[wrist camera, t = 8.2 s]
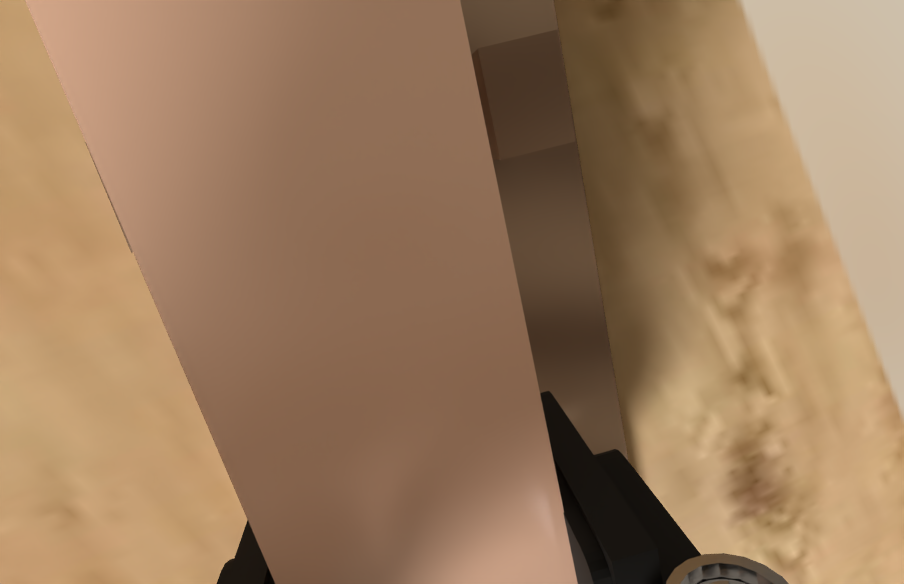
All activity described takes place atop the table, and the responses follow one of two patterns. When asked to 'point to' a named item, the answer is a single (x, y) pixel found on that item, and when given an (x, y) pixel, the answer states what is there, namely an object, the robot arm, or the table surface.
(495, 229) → the pink rectangular block
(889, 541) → the table surface
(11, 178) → the table surface
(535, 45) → the rack
